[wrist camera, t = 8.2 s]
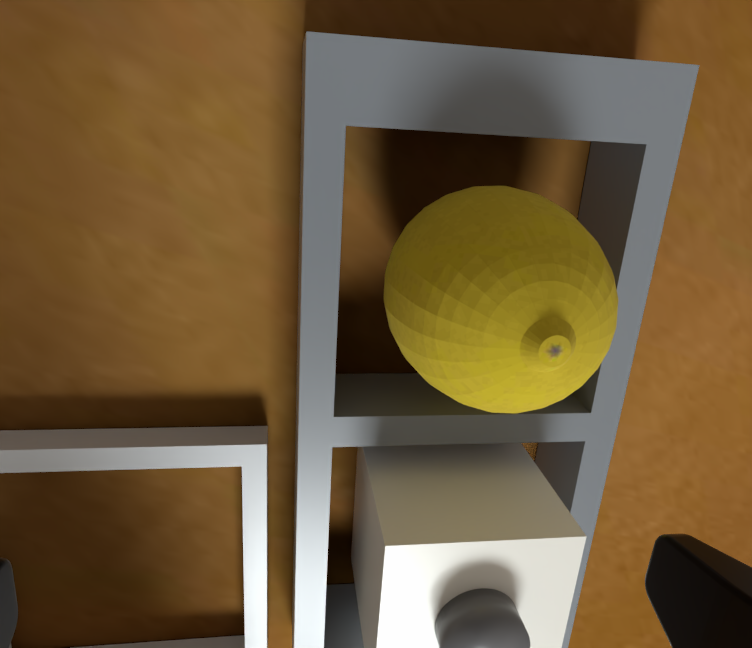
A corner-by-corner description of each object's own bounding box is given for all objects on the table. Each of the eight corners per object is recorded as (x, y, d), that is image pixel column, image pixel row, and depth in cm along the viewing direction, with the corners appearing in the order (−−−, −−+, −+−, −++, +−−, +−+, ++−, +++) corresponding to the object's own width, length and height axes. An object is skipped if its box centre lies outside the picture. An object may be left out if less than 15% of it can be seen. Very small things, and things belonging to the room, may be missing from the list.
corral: (267, 649, 24) (266, 675, 22) (-8, 669, 22) (-24, 699, 21) (267, 425, 20) (266, 444, 19) (-58, 431, 19) (-80, 452, 17)
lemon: (534, 164, 18) (702, 198, 11) (531, 329, 20) (672, 454, 13) (359, 180, 18) (411, 226, 10) (372, 349, 20) (424, 491, 12)
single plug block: (489, 549, 24) (567, 717, 17) (350, 556, 23) (376, 736, 16) (509, 426, 22) (604, 562, 15) (358, 428, 21) (391, 574, 14)
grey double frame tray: (531, 610, 25) (561, 673, 22) (291, 626, 23) (293, 697, 21) (634, 71, 18) (698, 65, 15) (302, 44, 16) (306, 31, 14)
